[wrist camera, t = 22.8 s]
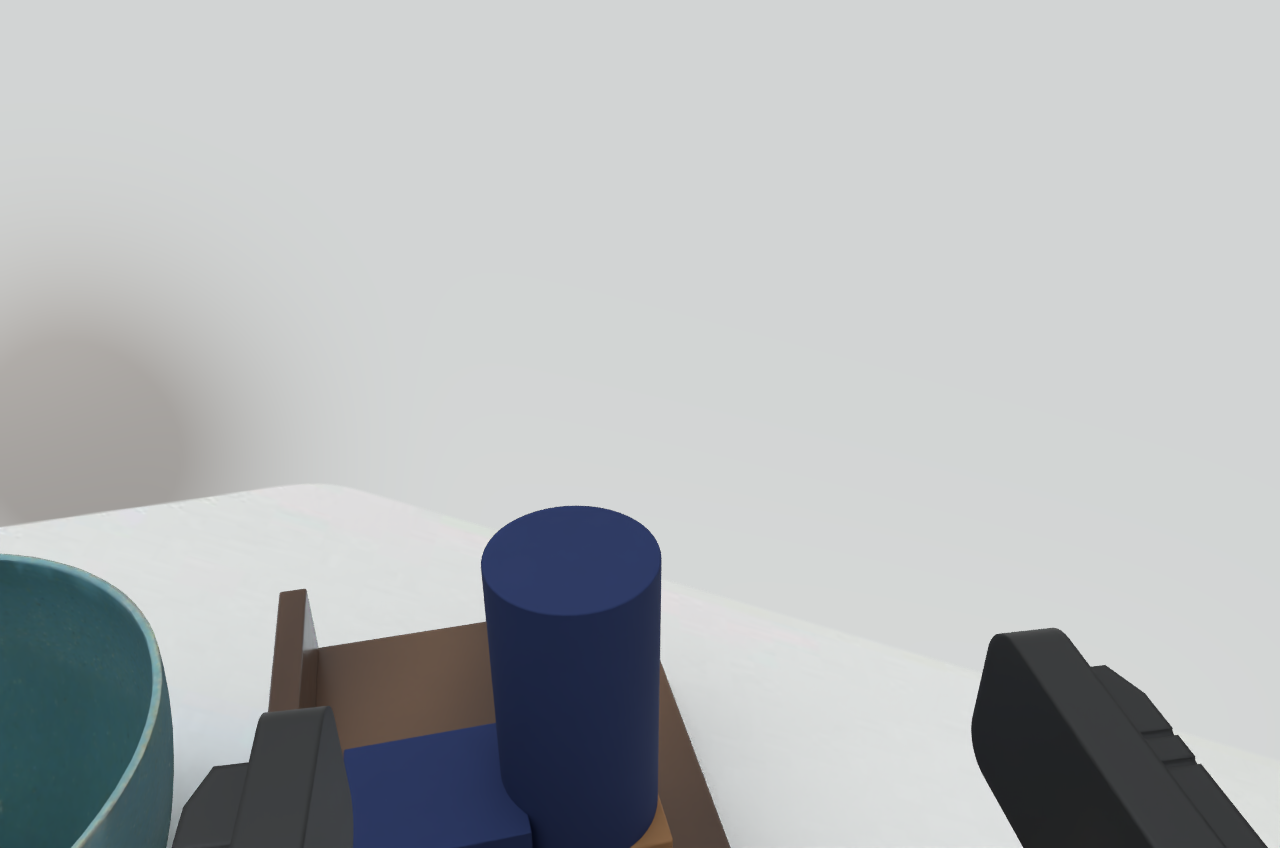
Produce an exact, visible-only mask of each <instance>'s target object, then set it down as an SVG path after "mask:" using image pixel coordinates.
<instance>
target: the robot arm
mask: <svg viewBox="0 0 1280 848" xmlns="http://www.w3.org/2000/svg"><path fill="white" fill-rule="evenodd" d="M1172 729H1173V728H1172V727H1171V726H1170V724H1169V723H1168V722H1167V721H1166V719H1165V718H1164V717H1163V716H1162V714H1161V713H1160V712H1159V711H1158V709H1157V708H1156V707H1155V706H1154V704H1153V703H1152V702H1151V701H1150V699H1149V698H1148V697H1147V695H1146V694H1145V693H1143V692H1142V691H1141V690H1139V689H1138V688H1137V687H1135V686H1134V685H1132V684H1131V683H1129V682H1128V681H1127V680H1125V679H1124V678H1123V677H1121V676H1120V675H1118V674H1117V673H1116V672H1114V671H1113V670H1111V669H1110V668H1109V667H1107V666H1106V665H1102V666H1094V667H1090V666H1089V664H1088V663H1087V662H1086V660H1085V659H1084V658H1083V656H1082V655H1081V654H1080V652H1079V651H1078V650H1077V648H1076V647H1075V646H1074V645H1073V643H1072V642H1071V641H1070V639H1069V638H1068V637H1067V636H1066V634H1064V633H1063V632H1062V631H1061V630H1059V629H1056V628H1047V629H1038V630H1029V631H1020V632H1011V633H1002V634H996V635H995V636H994V637H993V638H992V639H991V641H990V643H989V647H988V651H987V655H986V660H985V664H984V669H983V673H982V677H981V682H980V686H979V691H978V695H977V700H976V704H975V709H974V713H973V717H972V726H971V733H972V743H973V749H974V753H975V757H976V760H977V763H978V765H979V768H980V770H981V772H982V774H983V776H984V778H985V779H986V781H987V783H988V785H989V787H990V788H991V790H992V792H993V794H994V796H995V797H996V799H997V801H998V803H999V805H1000V806H1001V808H1002V810H1003V812H1004V814H1005V815H1006V817H1007V819H1008V821H1009V823H1010V824H1011V826H1012V828H1013V830H1014V832H1015V833H1016V835H1017V837H1018V839H1019V841H1020V842H1021V844H1022V846H1023V848H1268V847H1267V846H1266V845H1265V844H1264V842H1263V841H1262V840H1261V839H1260V837H1259V836H1258V835H1257V834H1256V832H1255V831H1254V830H1253V829H1252V827H1251V826H1250V825H1249V823H1248V822H1247V821H1246V820H1245V818H1244V817H1243V816H1242V815H1241V813H1240V812H1239V811H1238V810H1237V808H1236V807H1235V806H1234V805H1233V803H1232V802H1231V801H1230V800H1229V798H1228V797H1227V796H1226V795H1225V793H1224V792H1223V791H1222V790H1221V788H1220V787H1219V786H1218V785H1217V783H1216V782H1215V781H1214V780H1213V778H1212V777H1211V776H1210V775H1209V773H1208V772H1207V771H1206V770H1205V768H1204V767H1203V766H1202V765H1201V764H1197V763H1196V761H1195V756H1194V754H1193V753H1192V752H1191V751H1190V749H1189V748H1188V747H1187V746H1186V744H1185V743H1184V742H1183V741H1182V739H1181V738H1180V737H1179V736H1178V735H1174V734H1173V731H1172ZM172 848H353V808H352V799H351V793H350V788H349V783H348V779H347V774H346V769H345V764H344V760H343V755H342V750H341V746H340V741H339V736H338V731H337V727H336V722H335V718H334V714H333V711H332V708H331V707H330V706H321V707H312V708H303V709H294V710H285V711H276V712H267V713H263V714H262V715H261V717H260V719H259V721H258V725H257V729H256V733H255V737H254V742H253V746H252V750H251V755H250V759H249V763H240V764H232V765H223V766H215V767H213V768H212V770H211V771H210V772H209V774H208V775H207V776H206V778H205V779H204V780H203V782H202V783H201V784H200V786H199V787H198V788H197V790H196V791H195V792H194V794H193V795H192V796H191V798H190V799H189V800H188V802H187V803H186V804H185V806H184V807H183V810H182V813H181V817H180V820H179V824H178V827H177V831H176V834H175V838H174V841H173V845H172Z"/></svg>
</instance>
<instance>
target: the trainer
mask: <svg viewBox="0 0 1280 848" xmlns="http://www.w3.org/2000/svg"><path fill="white" fill-rule="evenodd" d="M481 571H482V582H483V592H484V603H485V613H486V624H487V634H488V645H489V655H490V666H491V676H492V687H493V697H494V708H495V718H496V723H492V724H486V725H480V726H475V727H469V728H463V729H458V730H452V731H447V732H441V733H435V734H430V735H424V736H418V737H413V738H407V739H402V740H396V741H390V742H385V743H379V744H373V745H368V746H362V747H357V748H351V749H345V750H344V764H345V769H346V774H347V779H348V783H349V788H350V793H351V799H352V808H353V848H673V838H672V835H671V832H670V829H669V826H668V823H667V819H666V816H665V813H664V810H663V807H662V804H661V801H660V798H659V795H658V754H659V687H660V620H661V551H660V548H659V545H658V543H657V541H656V539H655V538H654V536H653V535H652V534H651V533H650V531H649V530H648V529H647V528H645V527H644V526H643V525H642V524H640V523H639V522H637V521H636V520H634V519H632V518H630V517H628V516H626V515H624V514H621V513H619V512H615V511H612V510H608V509H604V508H598V507H590V506H563V507H554V508H548V509H544V510H540V511H536V512H533V513H530V514H527V515H524V516H522V517H520V518H518V519H516V520H514V521H512V522H510V523H509V524H507V525H506V526H504V527H503V528H501V529H500V530H499V531H498V532H497V533H496V534H495V535H494V536H493V537H492V538H491V539H490V541H489V542H488V544H487V546H486V547H485V549H484V552H483V555H482V560H481Z"/></svg>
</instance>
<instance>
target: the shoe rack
mask: <svg viewBox="0 0 1280 848" xmlns="http://www.w3.org/2000/svg"><path fill="white" fill-rule="evenodd" d="M321 706H330V707H331V708H332V711H333V714H334V718H335V722H336V727H337V731H338V736H339V741H340V746H341V750H342V755H343V760H344V750H345V749H351V748H357V747H362V746H368V745H373V744H379V743H385V742H390V741H396V740H402V739H407V738H413V737H418V736H424V735H430V734H435V733H441V732H447V731H452V730H458V729H463V728H469V727H475V726H480V725H486V724H492V723H496V718H495V708H494V697H493V687H492V676H491V666H490V655H489V645H488V634H487V624H486V622H481V623H475V624H469V625H462V626H456V627H450V628H443V629H437V630H430V631H424V632H418V633H411V634H405V635H399V636H392V637H386V638H379V639H373V640H367V641H360V642H354V643H348V644H341V645H335V646H328V647H322V648H318V643H317V638H316V633H315V628H314V623H313V619H312V614H311V609H310V604H309V599H308V594H307V590H306V589H299V590H293V591H286V592H281V593H280V595H279V605H278V615H277V625H276V636H275V646H274V656H273V666H272V677H271V687H270V697H269V707H268V712H276V711H285V710H294V709H303V708H312V707H321ZM658 795H659V798H660V801H661V804H662V807H663V810H664V813H665V816H666V819H667V823H668V826H669V829H670V832H671V835H672V838H673V848H730V845H729V842H728V840H727V837H726V834H725V832H724V829H723V826H722V824H721V821H720V818H719V816H718V813H717V810H716V808H715V805H714V802H713V800H712V797H711V794H710V792H709V789H708V786H707V784H706V781H705V778H704V776H703V773H702V770H701V768H700V765H699V762H698V760H697V757H696V754H695V752H694V749H693V746H692V744H691V741H690V738H689V736H688V733H687V730H686V728H685V725H684V722H683V720H682V717H681V714H680V712H679V709H678V706H677V704H676V701H675V698H674V696H673V693H672V690H671V688H670V685H669V682H668V680H667V677H666V674H665V672H664V669H663V666H662V664H661V661H660V687H659V754H658Z"/></svg>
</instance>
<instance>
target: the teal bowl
mask: <svg viewBox="0 0 1280 848" xmlns="http://www.w3.org/2000/svg"><path fill="white" fill-rule="evenodd" d="M173 776H174V753H173V727H172V717H171V708H170V700H169V693H168V687H167V682H166V677H165V672H164V667H163V662H162V659H161V655H160V651H159V647H158V644H157V641H156V638H155V635H154V632H153V630H152V628H151V626H150V624H149V623H148V621H147V619H146V618H145V616H144V615H143V613H142V612H141V611H140V609H139V608H138V607H137V606H136V604H135V603H134V602H132V601H131V600H130V599H129V598H128V597H127V596H126V595H125V594H124V593H123V592H121V591H120V590H119V589H118V588H116V587H114V586H113V585H111V584H110V583H108V582H106V581H104V580H103V579H101V578H99V577H97V576H95V575H93V574H91V573H88V572H86V571H84V570H82V569H79V568H75V567H72V566H69V565H66V564H62V563H58V562H55V561H50V560H46V559H41V558H36V557H28V556H21V555H11V554H0V848H166V846H167V839H168V833H169V826H170V820H171V810H172V798H173Z"/></svg>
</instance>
